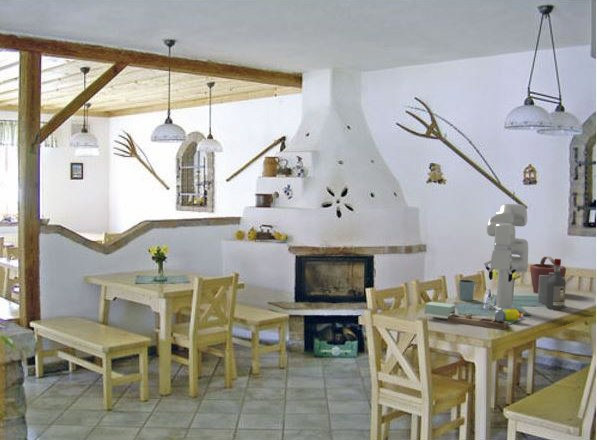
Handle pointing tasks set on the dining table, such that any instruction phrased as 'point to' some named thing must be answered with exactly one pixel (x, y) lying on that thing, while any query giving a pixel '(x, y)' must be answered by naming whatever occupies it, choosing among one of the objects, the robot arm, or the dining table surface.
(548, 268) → the bucket
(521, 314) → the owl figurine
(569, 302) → the dining table surface
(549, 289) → the liquor
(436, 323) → the dining table surface
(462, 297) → the drinking glass
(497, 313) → the pin
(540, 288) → the hip flask
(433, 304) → the cover
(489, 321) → the pin board
